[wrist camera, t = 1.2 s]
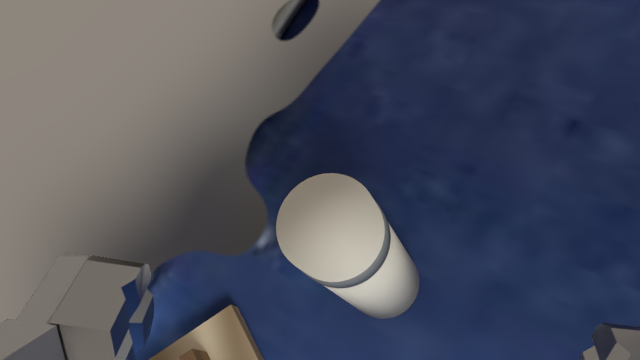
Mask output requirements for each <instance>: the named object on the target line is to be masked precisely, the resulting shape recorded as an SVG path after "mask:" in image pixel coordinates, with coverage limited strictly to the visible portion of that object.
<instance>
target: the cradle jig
mask: <svg viewBox="0 0 640 360" xmlns="http://www.w3.org/2000/svg"><path fill="white" fill-rule="evenodd" d="M149 360H263V358H262V356H261V354H260V352H259V350H258V348H257V346H256V343H255V341H254V339H253V337H252V335H251V333H250V331H249V329H248V327H247V325H246V323H245V321H244V319H243V317H242V315H241V313H240V311H239V309H238V307H236V306H234V305H230V306H228V307H227V308H225V309H224V310H222V311H221V312H219V313H218V314H216V315H215V316H213V317H212V318H210V319H209V320H207V321H206V322H204V323H203V324H201V325H200V326H198V327H197V328H195V329H194V330H192V331H191V332H189V333H188V334H186V335H185V336H183V337H182V338H180V339H179V340H177V341H176V342H174V343H173V344H171V345H170V346H168V347H167V348H165V349H164V350H162V351H161V352H159V353H158V354H156V355H155V356H153V357H152V358H150V359H149Z"/></svg>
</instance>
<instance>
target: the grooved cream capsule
mask: <svg viewBox="0 0 640 360" xmlns="http://www.w3.org/2000/svg"><path fill="white" fill-rule="evenodd" d="M276 234H277V240H278V243H279V246H280V248H281V250H282V252H283V254H284V255H285V257H286V258H287V259H288V260H289V261H290V262H291V263H292V264H293V265H295V266H296V267H297V268H299V269H300V270H301V271H302V272H303V273H304V274H306V275H307V276H309V277H310V278H311V279H313V280H314V281H316V282H318V283H319V284H322V285H324V286H325V287H327V288H328V289H329V290H331V291H332V292H334V293H335V294H337V295H338V296H340V297H341V298H343V299H344V300H346V301H347V302H348V303H350V304H351V305H353V306H354V307H356V308H357V309H359V310H360V311H362V312H363V313H365V314H366V315H368V316H371V317H374V318H379V319H388V318H393V317H396V316H398V315H400V314H402V313H403V312H405V311H406V310H407V309H408V308H409V307H410V306H411V305H412V304H413V302H414V301H415V299H416V297H417V294H418V290H419V274H418V270H417V268H416V266H415V264H414V262H413V261H412V259H411V258H410V256H409V255H408V253H407V251H406V250H405V248H404V247H403V245H402V243H401V242H400V240H399V239H398V237H397V236H396V234H395V232H394V231H393V229H392V228H391V226H390V224H389V223H388V221H387V218H386V216H385V215H384V213H383V211H382V210H381V208H380V207H379V205H378V204H377V202H376V201H375V200H374V199H373V198H372V196H371V194H370V193H369V192H368V190H367V189H366V188H365V187H364V186H363V185H362V184H361V183H359V182H358V181H357V180H355V179H353V178H351V177H349V176H346V175H342V174H336V173H325V174H320V175H316V176H313V177H310V178H308V179H306V180H304V181H303V182H301V183H300V184H298V185H297V186H296V187H295V188H294V189H293V190H292V191H291V192H290V193H289V194H288V195H287V197H286V198H285V200H284V201H283V203H282V205H281V207H280V210H279V213H278V217H277V223H276Z"/></svg>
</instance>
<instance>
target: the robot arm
mask: <svg viewBox="0 0 640 360" xmlns="http://www.w3.org/2000/svg"><path fill="white" fill-rule="evenodd" d="M150 280H151V274H150V268H149V265H147V264H145V263H139V262H132V261H125V260H119V259H113V258H107V257H100V256H94V255H93V256H90V255H84V254H78V253H71V252H64V253H63V254H61V255H60V256H59V257H58V258H57V259H56V260H55V262H54V264H53V265H52V266H51V268H50V270H49V271H48V272H47V274H46V276H45V277H44V279H43V280H42V282H41V283H40V285H39V286H38V288H37V289H36V291H35V292H34V294H33V295H32V297H31V298H30V300H29V301H28V303H27V304H26V306H25V307H24V309H23V310H22V312H21V313H20V315H19V316H18V318H17V319H16V320H14V319H7V320H5V321H3V322H1V323H0V360H135V356H134V353H135V352H137V351H138V350H140V349H141V348H142V347H144V346H145V344H146V341H147V338H148V336H149V333H150V329H151V325H152V321H153V314H154V300H153V295H152V294H151V293H150V292H149V291H148V290H147V287H148V285H149V282H150ZM592 339H593V342H594V345H595V346H594V347H592V348H590V349H588V350H586V351H584V352H583V353H582V355H581V357H580V359H579V360H640V327H634V326H626V325H618V324H609V323H602V324H601V325H599V326H598V327H597V328H596V329H595V331H594V333H593V335H592Z"/></svg>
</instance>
